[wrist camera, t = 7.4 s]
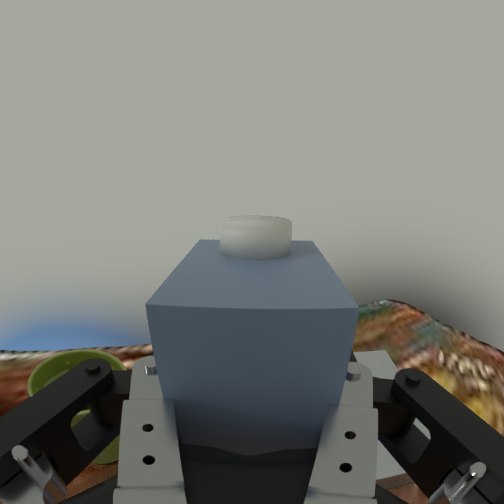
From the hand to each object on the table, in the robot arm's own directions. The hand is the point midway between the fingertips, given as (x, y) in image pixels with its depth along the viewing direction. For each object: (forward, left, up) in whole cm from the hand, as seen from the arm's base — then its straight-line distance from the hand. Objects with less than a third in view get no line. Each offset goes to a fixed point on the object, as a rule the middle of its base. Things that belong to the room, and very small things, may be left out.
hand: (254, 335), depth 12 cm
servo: (+2, -2, -7) cm, 7 cm away
